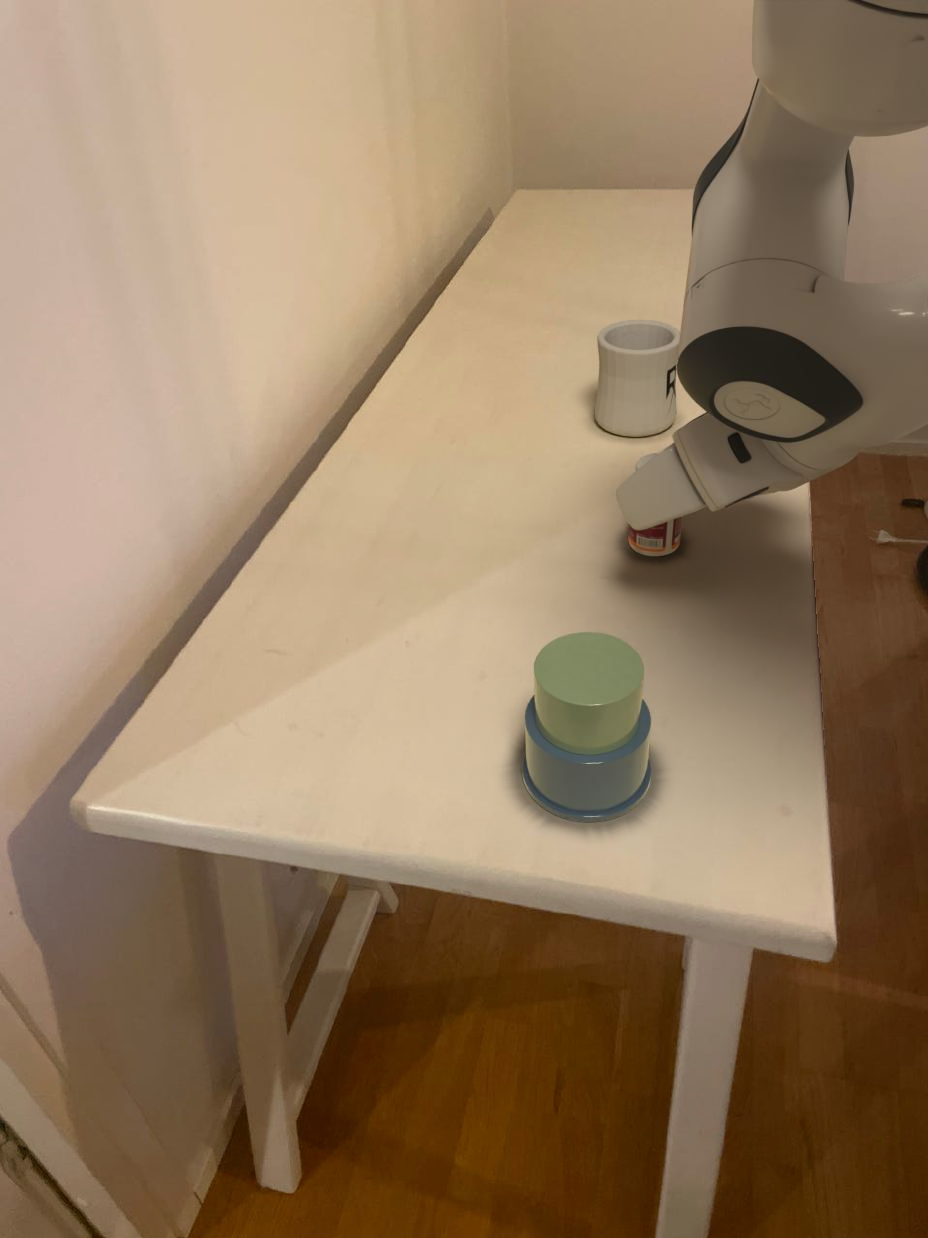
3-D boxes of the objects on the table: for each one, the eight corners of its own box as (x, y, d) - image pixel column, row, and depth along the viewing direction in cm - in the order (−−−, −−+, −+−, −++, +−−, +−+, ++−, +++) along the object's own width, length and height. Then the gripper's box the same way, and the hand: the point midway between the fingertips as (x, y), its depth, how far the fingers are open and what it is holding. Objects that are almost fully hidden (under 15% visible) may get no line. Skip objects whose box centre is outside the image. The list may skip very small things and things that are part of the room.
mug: (674, 441, 102) (681, 353, 95) (590, 438, 104) (592, 351, 97) (677, 390, 111) (684, 307, 105) (600, 388, 113) (602, 306, 107)
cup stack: (662, 740, 68) (672, 635, 62) (635, 836, 62) (644, 729, 55) (542, 715, 71) (540, 612, 65) (505, 805, 64) (499, 700, 58)
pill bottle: (659, 523, 90) (665, 445, 84) (690, 548, 86) (698, 468, 81) (617, 538, 88) (621, 459, 83) (646, 563, 85) (652, 483, 80)
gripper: (853, 348, 73) (739, 419, 86) (665, 433, 64) (569, 498, 77) (890, 420, 73) (771, 480, 86) (707, 515, 64) (605, 566, 77)
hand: (674, 489), depth 81 cm, fingers open, 8 cm apart
